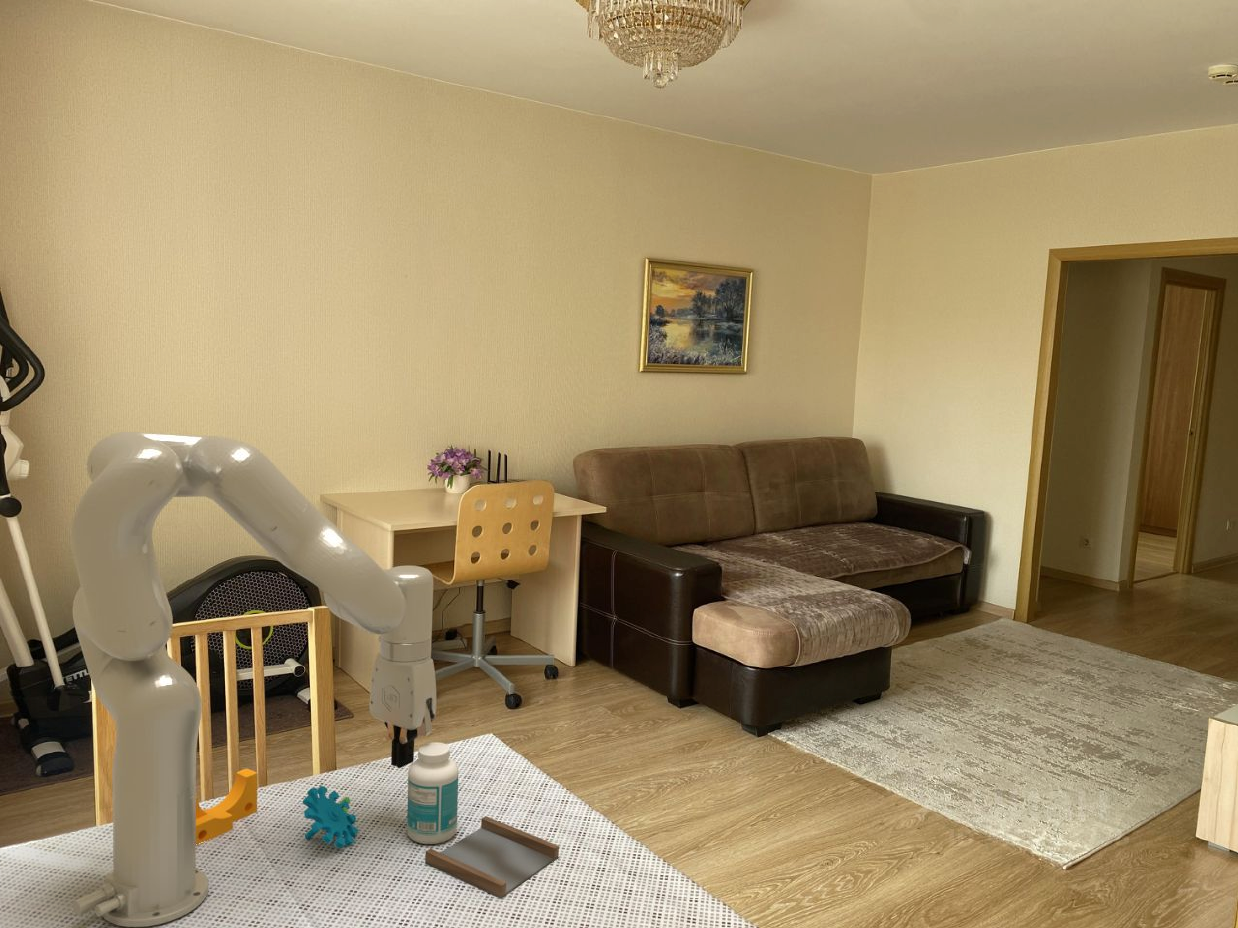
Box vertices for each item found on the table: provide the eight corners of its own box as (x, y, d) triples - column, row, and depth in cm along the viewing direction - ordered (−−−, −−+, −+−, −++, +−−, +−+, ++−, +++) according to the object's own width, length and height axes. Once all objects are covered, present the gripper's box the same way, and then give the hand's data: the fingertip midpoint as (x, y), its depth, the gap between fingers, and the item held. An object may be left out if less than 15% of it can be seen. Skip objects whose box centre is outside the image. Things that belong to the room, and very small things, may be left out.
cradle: (501, 898, 125) (501, 885, 125) (425, 863, 132) (425, 851, 132) (558, 857, 136) (559, 845, 136) (485, 826, 143) (485, 815, 143)
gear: (340, 852, 131) (298, 795, 132) (310, 878, 132) (268, 820, 133) (374, 825, 142) (334, 772, 143) (346, 848, 142) (307, 796, 144)
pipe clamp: (192, 848, 133) (193, 805, 132) (174, 838, 135) (174, 796, 135) (264, 815, 143) (264, 776, 142) (246, 807, 145) (246, 768, 145)
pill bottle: (447, 817, 146) (450, 735, 144) (463, 840, 139) (467, 753, 138) (400, 827, 142) (402, 742, 140) (415, 850, 135) (418, 762, 134)
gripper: (352, 643, 142) (349, 758, 144) (424, 665, 134) (420, 786, 136) (388, 632, 148) (385, 742, 150) (459, 652, 140) (455, 768, 142)
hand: (402, 763), depth 143 cm, fingers closed
